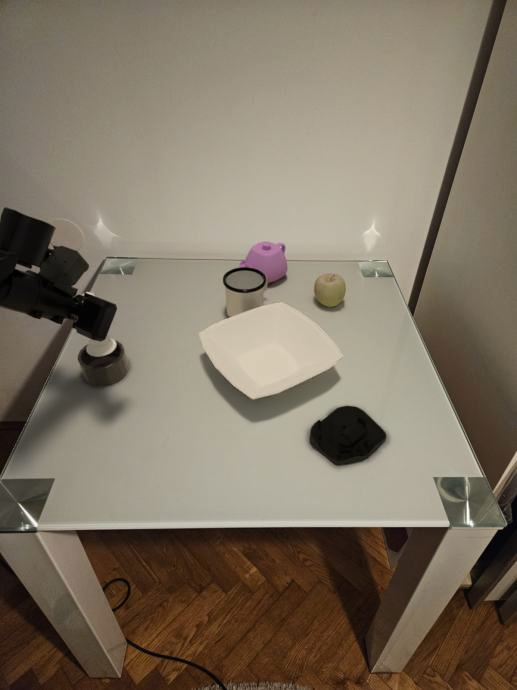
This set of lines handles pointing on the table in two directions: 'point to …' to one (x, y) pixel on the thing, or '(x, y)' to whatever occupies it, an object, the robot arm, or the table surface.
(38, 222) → the robot arm
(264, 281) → the mug
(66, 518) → the table surface
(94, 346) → the candle
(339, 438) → the black low lumpy piece
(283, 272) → the teapot
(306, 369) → the bowl
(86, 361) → the holder
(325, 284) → the fruit
